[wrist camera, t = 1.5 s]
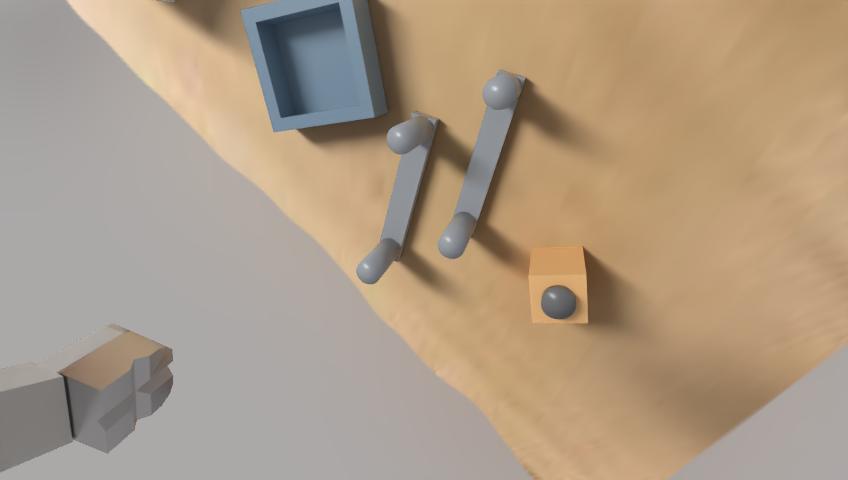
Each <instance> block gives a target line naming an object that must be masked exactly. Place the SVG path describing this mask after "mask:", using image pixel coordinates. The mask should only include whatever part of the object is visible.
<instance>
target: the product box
mask: <svg viewBox="0 0 848 480" xmlns="http://www.w3.org/2000/svg"><path fill="white" fill-rule="evenodd" d="M158 1H165V2H171V3H174V2H175V1H176V0H158Z"/></svg>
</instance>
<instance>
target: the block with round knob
mask: <svg viewBox="0 0 848 480" xmlns="http://www.w3.org/2000/svg"><path fill="white" fill-rule="evenodd" d="M528 278H529V289H530V301H531V313H532V323H588V306H587V278H586V268H585V261H584V253H583V246H577V247H553V248H532V251H531V259H530V267H529V275H528Z"/></svg>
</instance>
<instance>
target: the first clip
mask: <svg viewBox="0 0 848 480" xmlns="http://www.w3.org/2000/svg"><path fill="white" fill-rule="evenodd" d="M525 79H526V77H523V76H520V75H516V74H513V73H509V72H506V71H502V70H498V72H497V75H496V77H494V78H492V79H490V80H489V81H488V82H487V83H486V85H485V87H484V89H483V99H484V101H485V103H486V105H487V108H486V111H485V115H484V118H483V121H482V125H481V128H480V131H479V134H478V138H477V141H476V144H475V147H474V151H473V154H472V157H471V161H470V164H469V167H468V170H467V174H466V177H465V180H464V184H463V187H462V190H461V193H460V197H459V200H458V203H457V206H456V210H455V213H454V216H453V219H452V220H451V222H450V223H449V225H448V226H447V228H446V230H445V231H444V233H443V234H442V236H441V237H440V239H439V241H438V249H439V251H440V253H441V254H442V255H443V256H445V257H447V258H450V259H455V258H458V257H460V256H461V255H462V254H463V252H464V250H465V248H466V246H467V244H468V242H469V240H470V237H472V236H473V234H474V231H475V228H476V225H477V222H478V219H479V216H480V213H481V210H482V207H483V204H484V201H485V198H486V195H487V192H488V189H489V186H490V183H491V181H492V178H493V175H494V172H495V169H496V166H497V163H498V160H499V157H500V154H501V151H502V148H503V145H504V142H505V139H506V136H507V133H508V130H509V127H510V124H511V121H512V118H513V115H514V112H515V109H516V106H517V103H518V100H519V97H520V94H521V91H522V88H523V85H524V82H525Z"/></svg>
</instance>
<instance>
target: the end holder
mask: <svg viewBox="0 0 848 480" xmlns="http://www.w3.org/2000/svg"><path fill="white" fill-rule="evenodd" d="M240 11H241V14H242V18H243V22H244V25H245V29H246V33H247V36H248V40H249V44H250V47H251V51H252V55H253V58H254V62H255V66H256V69H257V73H258V77H259V80H260V84H261V88H262V91H263V95H264V99H265V102H266V106H267V110H268V113H269V117H270V121H271V124H272V128H273V132H279V131H286V130H293V129H300V128H306V127H313V126H320V125H327V124H333V123H340V122H347V121H354V120H361V119H367V118H374V117H377V116H380V115H383V114H386V113H388V109H387V104H386V98H385V93H384V87H383V82H382V76H381V71H380V65H379V59H378V54H377V48H376V43H375V37H374V32H373V26H372V21H371V15H370V10H369V4H368V0H279V1H275V2H271V3H267V4H264V5H260V6H256V7H252V8H248V9H244V10H240Z"/></svg>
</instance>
